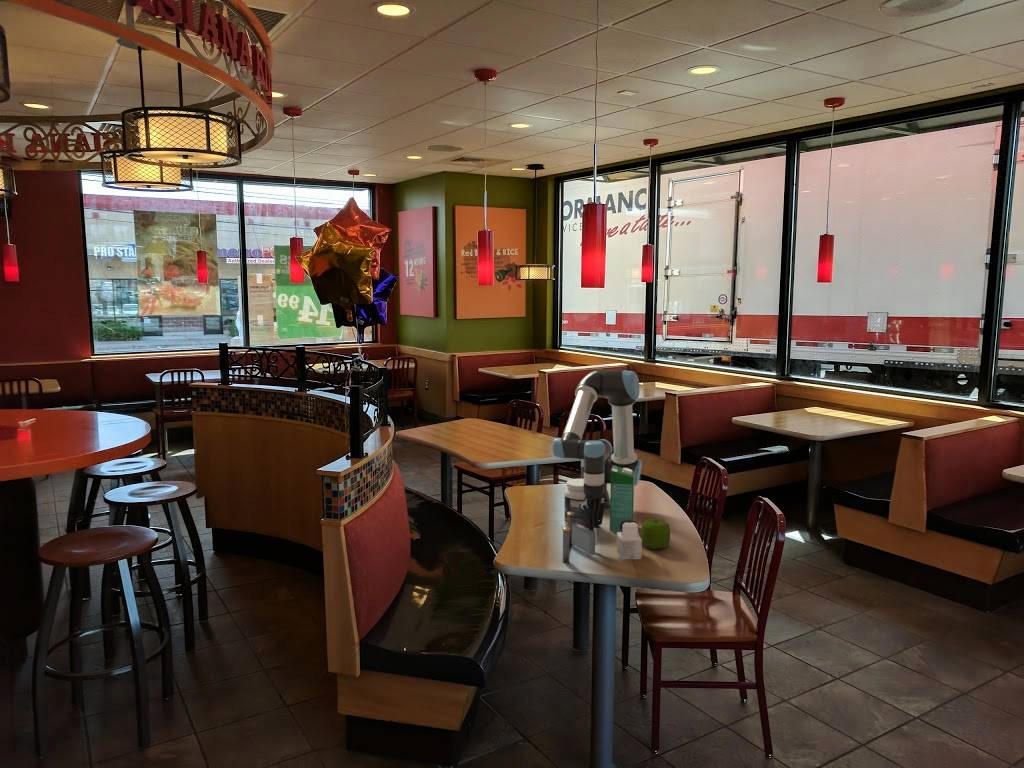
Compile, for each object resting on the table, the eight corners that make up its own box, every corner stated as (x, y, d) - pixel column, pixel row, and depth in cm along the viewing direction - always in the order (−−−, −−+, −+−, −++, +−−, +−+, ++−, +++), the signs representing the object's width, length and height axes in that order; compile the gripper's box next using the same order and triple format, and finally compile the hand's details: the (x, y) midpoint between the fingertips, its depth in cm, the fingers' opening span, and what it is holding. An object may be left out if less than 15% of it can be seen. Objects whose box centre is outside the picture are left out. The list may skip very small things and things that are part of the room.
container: (616, 551, 268) (617, 518, 266) (636, 551, 268) (637, 517, 266) (620, 559, 260) (620, 525, 258) (641, 559, 260) (642, 525, 259)
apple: (663, 554, 266) (664, 525, 264) (636, 548, 271) (637, 520, 270) (674, 544, 275) (675, 517, 273) (647, 539, 281) (648, 512, 279)
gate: (571, 544, 272) (571, 522, 271) (574, 543, 273) (574, 521, 272) (591, 555, 261) (591, 532, 260) (595, 554, 262) (595, 531, 261)
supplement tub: (566, 519, 304) (566, 477, 302) (596, 521, 302) (597, 478, 299) (562, 529, 292) (562, 485, 289) (594, 531, 289) (594, 487, 286)
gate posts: (566, 543, 276) (567, 511, 274) (574, 544, 276) (574, 511, 274) (561, 563, 257) (562, 528, 255) (569, 563, 256) (569, 529, 255)
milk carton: (632, 532, 289) (633, 471, 285) (609, 530, 290) (610, 470, 287) (633, 524, 297) (634, 465, 294) (611, 523, 299) (612, 464, 296)
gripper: (598, 477, 272) (596, 537, 275) (574, 484, 263) (573, 545, 267) (613, 482, 266) (611, 543, 270) (589, 488, 258) (588, 551, 261)
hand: (592, 544), depth 268 cm, fingers closed
